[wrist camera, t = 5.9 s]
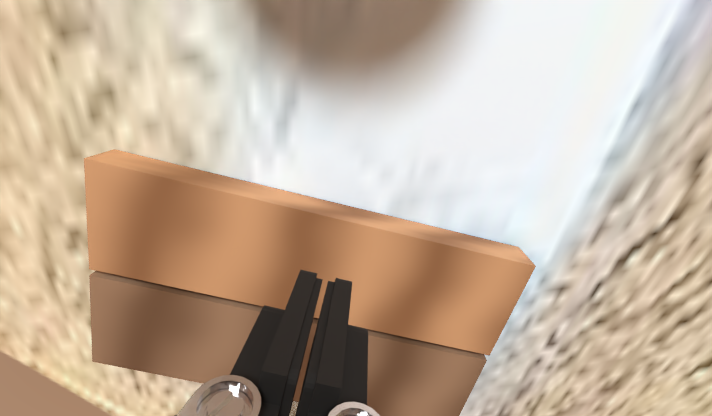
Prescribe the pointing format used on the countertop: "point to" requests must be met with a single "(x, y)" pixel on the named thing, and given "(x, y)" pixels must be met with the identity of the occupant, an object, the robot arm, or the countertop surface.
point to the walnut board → (230, 331)
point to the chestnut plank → (297, 251)
